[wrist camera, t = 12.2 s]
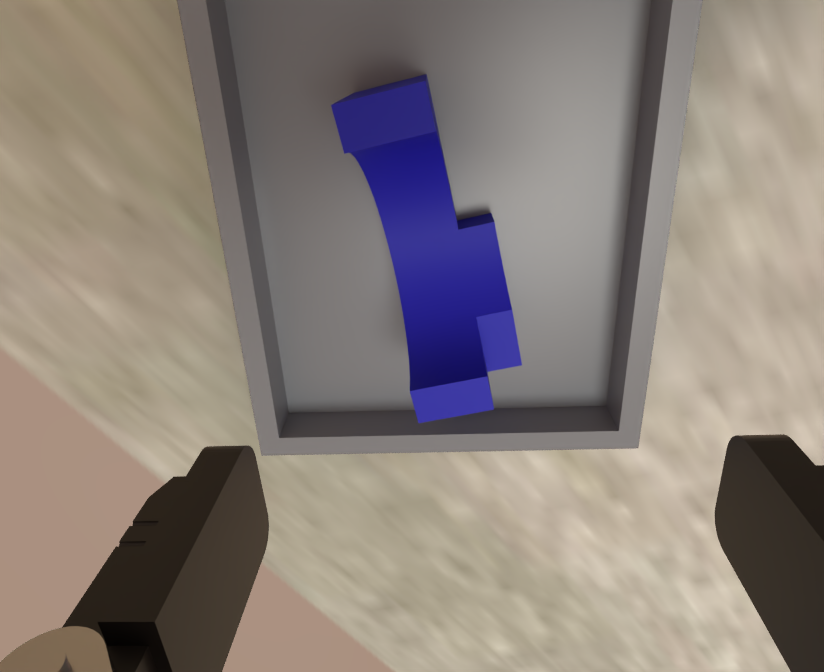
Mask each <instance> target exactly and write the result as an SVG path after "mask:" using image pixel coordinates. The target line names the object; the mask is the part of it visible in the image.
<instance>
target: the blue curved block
mask: <svg viewBox="0 0 824 672" xmlns="http://www.w3.org/2000/svg"><path fill="white" fill-rule="evenodd" d="M331 107H332V111H333V115H334V118H335V122H336V125H337V129H338V133H339V136H340V140H341V144H342V147H343V151H344V154H346V153H351V154H352V155H353V156H354V157H355V159H356V160H357V162H358V163H359V165H360V167H361V169H362V171H363V173H364V175H365V177H366V179H367V182H368V184H369V187H370V189H371V192H372V195H373V197H374V200H375V203H376V206H377V209H378V212H379V215H380V218H381V222H382V225H383V228H384V232H385V236H386V239H387V243H388V247H389V251H390V255H391V259H392V263H393V267H394V272H395V276H396V281H397V285H398V290H399V295H400V301H401V306H402V312H403V318H404V324H405V331H406V338H407V346H408V356H409V370H410V394H411V398H412V402H413V405H414V409H415V412H416V416H417V420H418V423H423V422H429V421H434V420H440V419H445V418H451V417H456V416H462V415H467V414H473V413H478V412H483V411H489V410H494V406H493V400H492V394H491V389H490V383H489V377H488V372H490V371H495V370H500V369H506V368H511V367H516V366H521V365H522V362H521V356H520V350H519V345H518V339H517V334H516V328H515V323H514V317H513V311H512V307H511V302H510V297H509V293H508V288H507V283H506V278H505V274H504V269H503V264H502V259H501V254H500V248H499V243H498V238H497V233H496V227H495V222H494V219H493V216H492V214H491V213H488V214H484V215H480V216H475V217H471V218H466V219H462V220H457V218H456V213H455V208H454V203H453V198H452V194H451V189H450V184H449V179H448V174H447V169H446V165H445V160H444V155H443V150H442V145H441V141H440V136H439V131H438V126H437V121H436V116H435V112H434V107H433V102H432V97H431V92H430V87H429V83H428V78H427V74H425V75H421V76H417V77H413V78H410V79H406V80H402V81H398V82H394V83H390V84H386V85H382V86H378V87H374V88H371V89H367V90H363V91H359V92H355V93H352V94H351V95H349V96H347V97H345V98H343V99H341V100H339V101H337V102H336V103H334V104H332V105H331Z"/></svg>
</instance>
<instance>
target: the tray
mask: <svg viewBox="0 0 824 672" xmlns="http://www.w3.org/2000/svg"><path fill="white" fill-rule="evenodd" d="M702 1H703V0H177V2H178V8H179V13H180V18H181V24H182V29H183V35H184V40H185V45H186V51H187V56H188V62H189V67H190V72H191V78H192V83H193V89H194V94H195V99H196V105H197V110H198V116H199V121H200V126H201V132H202V137H203V143H204V148H205V153H206V159H207V164H208V170H209V175H210V180H211V186H212V191H213V196H214V202H215V207H216V213H217V218H218V223H219V229H220V234H221V240H222V245H223V250H224V256H225V261H226V267H227V272H228V277H229V283H230V288H231V294H232V299H233V304H234V310H235V315H236V321H237V326H238V331H239V337H240V342H241V347H242V353H243V358H244V364H245V369H246V374H247V380H248V385H249V391H250V396H251V401H252V407H253V412H254V418H255V423H256V428H257V434H258V439H259V445H260V450H261V455H262V456H263V455H315V454H367V453H418V452H470V451H522V450H574V449H626V448H638V446H639V439H640V432H641V425H642V418H643V411H644V404H645V397H646V390H647V384H648V377H649V370H650V363H651V356H652V349H653V342H654V335H655V328H656V321H657V314H658V307H659V300H660V293H661V286H662V279H663V272H664V265H665V258H666V251H667V244H668V237H669V230H670V223H671V216H672V209H673V203H674V196H675V189H676V182H677V175H678V168H679V161H680V154H681V147H682V140H683V133H684V126H685V119H686V112H687V105H688V98H689V91H690V84H691V77H692V70H693V63H694V56H695V49H696V42H697V35H698V29H699V22H700V15H701V8H702ZM425 74H427V78H428V83H429V87H430V92H431V97H432V102H433V107H434V112H435V116H436V121H437V126H438V131H439V136H440V141H441V145H442V150H443V155H444V160H445V165H446V169H447V174H448V179H449V184H450V189H451V194H452V198H453V203H454V208H455V213H456V218H457V220H462V219H466V218H471V217H475V216H480V215H484V214H488V213H491V214H492V216H493V219H494V222H495V227H496V233H497V238H498V243H499V248H500V254H501V259H502V264H503V269H504V274H505V278H506V283H507V288H508V293H509V297H510V302H511V307H512V311H513V317H514V323H515V328H516V334H517V339H518V345H519V350H520V356H521V362H522V365H521V366H516V367H511V368H506V369H500V370H495V371H490V372H488V377H489V383H490V389H491V394H492V400H493V406H494V410H489V411H483V412H478V413H473V414H467V415H462V416H456V417H451V418H445V419H440V420H434V421H429V422H423V423H418V420H417V416H416V412H415V409H414V405H413V402H412V398H411V394H410V370H409V356H408V346H407V338H406V331H405V324H404V318H403V312H402V306H401V301H400V295H399V290H398V285H397V281H396V276H395V272H394V267H393V263H392V259H391V255H390V251H389V247H388V243H387V239H386V236H385V232H384V228H383V225H382V222H381V218H380V215H379V212H378V209H377V206H376V203H375V200H374V197H373V195H372V192H371V189H370V187H369V184H368V182H367V179H366V177H365V175H364V173H363V171H362V169H361V167H360V165H359V163H358V162H357V160H356V159H355V157H354V156H353V155H352V154H351V153H346V154H344V151H343V147H342V144H341V140H340V136H339V133H338V129H337V125H336V122H335V118H334V115H333V111H332V107H331V105H332V104H334V103H336V102H337V101H339V100H341V99H343V98H345V97H347V96H349V95H351V94H352V93H355V92H359V91H363V90H367V89H371V88H374V87H378V86H382V85H386V84H390V83H394V82H398V81H402V80H406V79H410V78H413V77H417V76H421V75H425Z"/></svg>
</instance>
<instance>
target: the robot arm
mask: <svg viewBox="0 0 824 672" xmlns="http://www.w3.org/2000/svg"><path fill="white" fill-rule="evenodd" d="M715 525H716V531H717V535H718V539H719V542H720V544H721V547H722V549H723V551H724V553H725V554H726V556H727V558H728V560H729V562H730V563H731V565H732V567H733V569H734V571H735V572H736V574H737V576H738V578H739V579H740V581H741V583H742V585H743V587H744V588H745V590H746V592H747V594H748V596H749V597H750V599H751V601H752V603H753V605H754V606H755V608H756V610H757V612H758V613H759V615H760V617H761V619H762V621H763V622H764V624H765V626H766V628H767V630H768V631H769V633H770V635H771V637H772V639H773V640H774V642H775V644H776V646H777V648H778V649H779V651H780V653H781V655H782V656H783V658H784V660H785V662H786V664H787V665H788V667H789V669H790V671H791V672H824V465H822V466H815V464H814V463H813V462H812V461H811V460H810V459H809V458H808V457H807V456H806V454H805V453H804V452H803V451H802V450H801V449H800V448H799V447H798V446H797V444H796V443H795V442H794V441H793V440H792V439H791V438H790V437H788V436H787V435H743V436H734V437H732V438H731V440H730V441H729V443H728V446H727V451H726V456H725V461H724V466H723V471H722V476H721V481H720V487H719V492H718V497H717V502H716V507H715ZM268 531H269V521H268V513H267V508H266V503H265V499H264V494H263V489H262V485H261V480H260V475H259V471H258V466H257V461H256V457H255V453H254V451H253V449H252V448H251V447H250V446H213V447H205V448H204V449H203V450H202V451H201V453H200V454H199V456H198V458H197V459H196V461H195V463H194V464H193V466H192V467H191V469H190V471H189V472H188V474H187V476H186V477H173V478H172V479H171V480H169V481H168V482H167V483H166V484H165V485H163V486H162V487H161V488H160V489H158V490H157V491H156V492H155V493H154V494H153V495H151V496H150V497H149V498H148V499H147V501H146V502H145V504H144V505H143V507H142V508H141V510H140V511H139V513H138V514H137V516H136V517H135V519H134V520H133V526H129V528H128V529H127V531H126V532H125V534H124V535H123V537H122V538H121V540H120V544H119V547H115V549H114V550H113V552H112V553H111V555H110V556H109V558H108V560H107V561H106V562H105V564H104V565H103V567H102V569H101V570H100V572H99V573H98V574H97V576H96V578H95V579H94V581H93V582H92V584H91V585H90V587H89V588H88V589H87V591H86V593H85V594H84V596H83V597H82V598H81V600H80V601H79V603H78V605H77V606H76V607H75V609H74V610H73V612H72V614H71V615H70V617H69V618H68V620H67V621H66V623H65V624H64V625H63V627H62V628H59V629H55V630H51V631H48V632H46V633H43V634H41V635H39V636H37V637H35V638H33V639H31V640H29V641H27V642H26V643H24V644H22V645H21V646H19V647H18V648H16V649H15V650H14V651H13V652H11V653H10V654H9V655H7V656H6V657H5V658H4V659H3V660H2V661H1V662H0V672H222V670H223V667H224V664H225V661H226V658H227V656H228V653H229V650H230V648H231V645H232V642H233V639H234V637H235V634H236V631H237V628H238V625H239V623H240V620H241V617H242V614H243V612H244V609H245V606H246V603H247V600H248V598H249V595H250V592H251V589H252V586H253V584H254V581H255V578H256V575H257V573H258V570H259V567H260V564H261V562H262V559H263V556H264V553H265V550H266V546H267V541H268Z"/></svg>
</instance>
